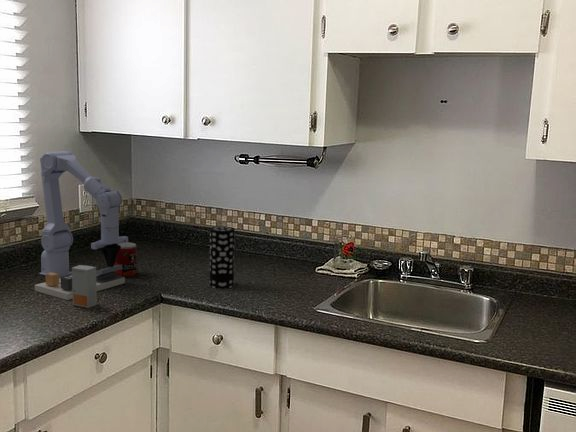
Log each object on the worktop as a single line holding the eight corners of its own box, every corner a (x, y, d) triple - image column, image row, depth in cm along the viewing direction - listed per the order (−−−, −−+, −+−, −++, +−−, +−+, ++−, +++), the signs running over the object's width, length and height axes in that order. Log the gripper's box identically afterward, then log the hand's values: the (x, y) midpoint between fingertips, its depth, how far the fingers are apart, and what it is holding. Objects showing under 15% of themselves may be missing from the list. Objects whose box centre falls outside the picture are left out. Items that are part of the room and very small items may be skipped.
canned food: (124, 278, 219) (123, 248, 217) (110, 274, 224) (109, 244, 222) (141, 274, 225) (141, 244, 223) (127, 270, 230) (126, 241, 228)
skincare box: (72, 305, 188) (70, 267, 186) (81, 301, 192) (80, 264, 190) (88, 308, 186) (87, 270, 184) (97, 304, 190) (96, 266, 188)
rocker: (88, 277, 209) (87, 272, 209) (109, 271, 217) (108, 267, 217) (102, 274, 206) (101, 269, 206) (122, 268, 213) (121, 264, 213)
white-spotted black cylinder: (220, 280, 220) (221, 225, 216) (238, 285, 215) (239, 228, 212) (204, 285, 213) (204, 228, 210) (222, 290, 209) (223, 232, 205)
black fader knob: (60, 288, 197) (60, 277, 197) (67, 286, 199) (67, 275, 199) (68, 290, 195) (67, 279, 195) (74, 288, 197) (74, 277, 197)
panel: (34, 290, 202) (34, 279, 201) (93, 275, 222) (92, 264, 221) (67, 300, 193) (67, 288, 193) (125, 282, 214) (124, 272, 213)
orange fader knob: (45, 284, 201) (45, 273, 200) (52, 282, 203) (51, 271, 202) (52, 286, 199) (52, 275, 199) (59, 284, 201) (58, 273, 201)
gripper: (101, 231, 199) (102, 272, 201) (134, 225, 211) (134, 263, 214) (86, 229, 203) (87, 269, 205) (119, 222, 215) (120, 260, 217)
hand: (110, 266), depth 210 cm, fingers closed
